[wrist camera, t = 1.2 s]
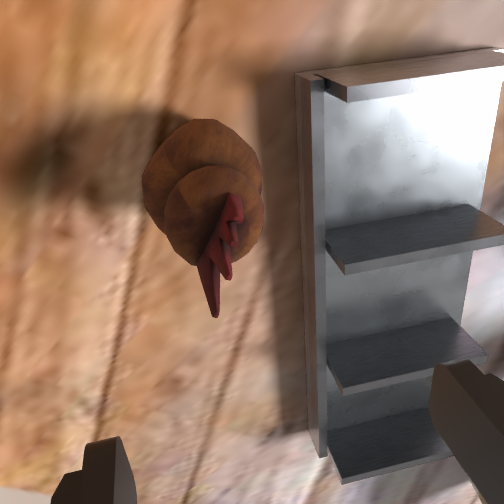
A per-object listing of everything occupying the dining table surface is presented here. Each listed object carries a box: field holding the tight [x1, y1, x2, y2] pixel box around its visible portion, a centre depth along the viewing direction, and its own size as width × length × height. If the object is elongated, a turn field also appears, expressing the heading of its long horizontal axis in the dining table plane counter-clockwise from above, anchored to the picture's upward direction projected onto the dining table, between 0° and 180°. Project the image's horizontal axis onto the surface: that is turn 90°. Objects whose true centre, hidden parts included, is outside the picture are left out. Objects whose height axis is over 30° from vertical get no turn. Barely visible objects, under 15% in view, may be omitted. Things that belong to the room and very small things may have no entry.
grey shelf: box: [294, 47, 504, 485], centre depth 36 cm, size 14×33×6 cm, turn 5°
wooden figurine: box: [142, 119, 264, 318], centre depth 24 cm, size 7×6×15 cm
